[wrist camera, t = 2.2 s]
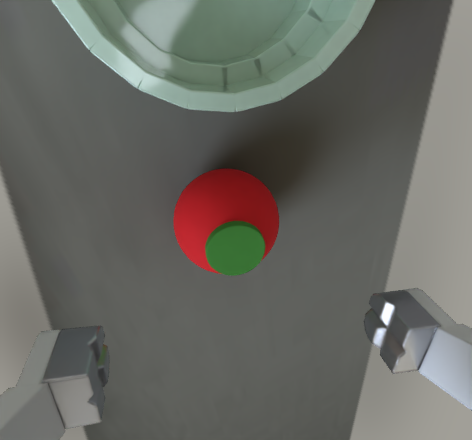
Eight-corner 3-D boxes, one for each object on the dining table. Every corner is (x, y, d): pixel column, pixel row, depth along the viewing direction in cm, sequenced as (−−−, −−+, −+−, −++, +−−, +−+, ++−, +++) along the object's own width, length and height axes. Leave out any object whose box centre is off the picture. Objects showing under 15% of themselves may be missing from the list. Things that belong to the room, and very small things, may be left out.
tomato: (235, 135, 16) (260, 171, 12) (278, 208, 18) (312, 260, 14) (153, 188, 16) (148, 241, 12) (206, 252, 19) (217, 315, 15)
